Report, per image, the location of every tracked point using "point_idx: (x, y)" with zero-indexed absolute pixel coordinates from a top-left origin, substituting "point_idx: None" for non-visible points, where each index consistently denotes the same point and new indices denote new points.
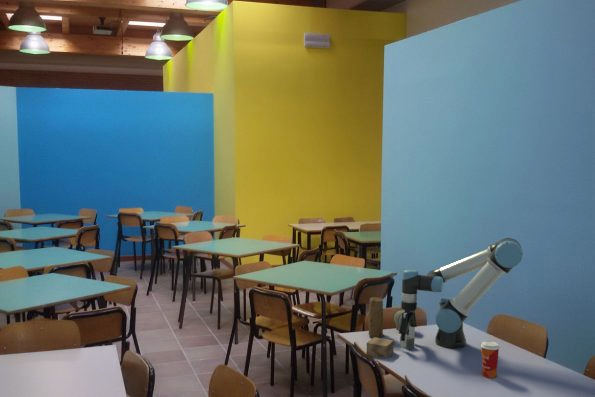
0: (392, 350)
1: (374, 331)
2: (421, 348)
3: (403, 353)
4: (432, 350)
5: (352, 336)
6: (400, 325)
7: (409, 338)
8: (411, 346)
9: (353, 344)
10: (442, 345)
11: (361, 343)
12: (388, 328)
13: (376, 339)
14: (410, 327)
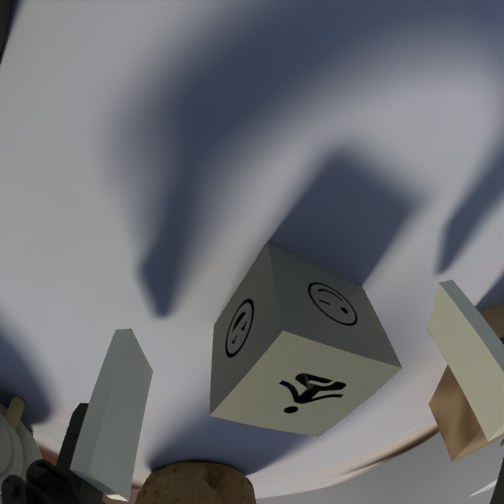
0: (495, 322)
1: (247, 501)
2: (236, 158)
3: (480, 247)
4: (220, 6)
5: (282, 493)
6: (35, 458)
7: (350, 361)
8: (306, 270)
9: (389, 458)
10: (3, 14)
11: (362, 457)
12: (57, 454)
13: None
14: (122, 487)
